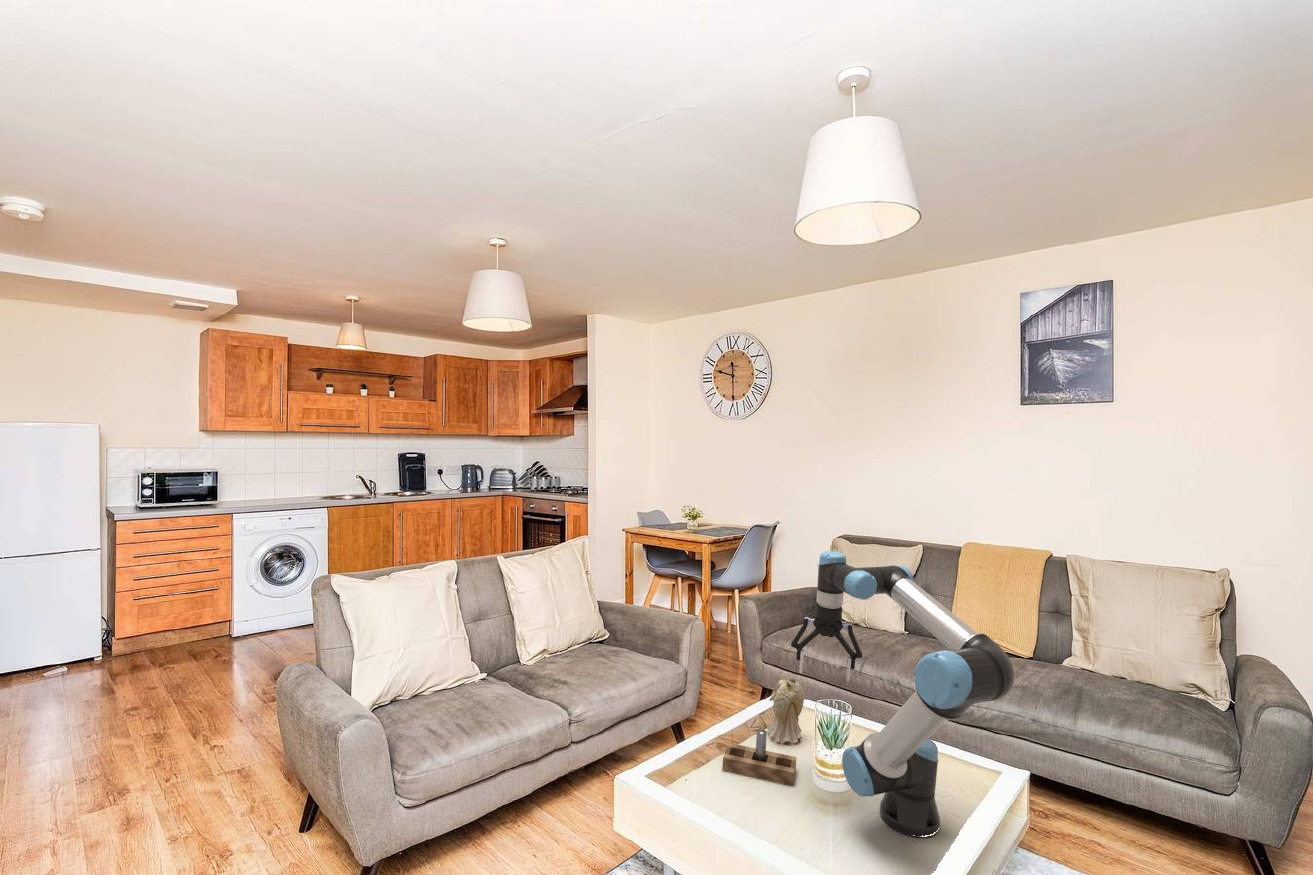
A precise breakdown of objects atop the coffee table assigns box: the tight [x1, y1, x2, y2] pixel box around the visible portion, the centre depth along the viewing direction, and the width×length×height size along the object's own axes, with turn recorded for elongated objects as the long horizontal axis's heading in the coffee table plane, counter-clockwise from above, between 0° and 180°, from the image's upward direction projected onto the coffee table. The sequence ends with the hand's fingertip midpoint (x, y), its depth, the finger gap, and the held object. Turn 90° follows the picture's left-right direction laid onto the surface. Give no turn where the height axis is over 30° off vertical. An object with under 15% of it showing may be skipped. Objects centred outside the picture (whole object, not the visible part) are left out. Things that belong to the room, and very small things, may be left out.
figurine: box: [767, 678, 805, 747], centre depth 215 cm, size 12×12×20 cm
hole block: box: [721, 742, 797, 787], centre depth 195 cm, size 21×9×4 cm, turn 73°
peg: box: [755, 728, 768, 762], centre depth 195 cm, size 3×3×12 cm
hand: (824, 675), depth 191 cm, fingers open, 13 cm apart
